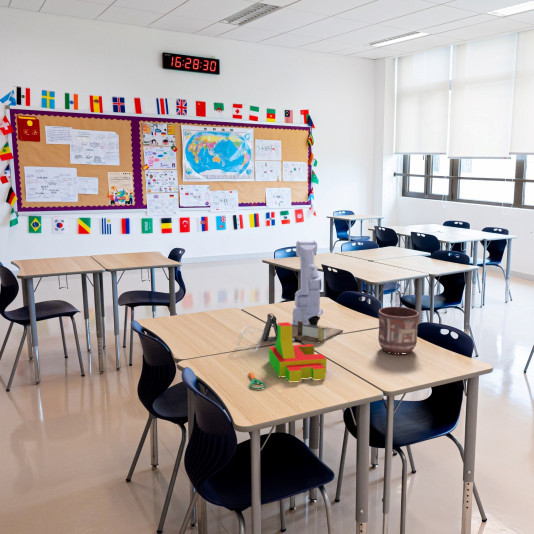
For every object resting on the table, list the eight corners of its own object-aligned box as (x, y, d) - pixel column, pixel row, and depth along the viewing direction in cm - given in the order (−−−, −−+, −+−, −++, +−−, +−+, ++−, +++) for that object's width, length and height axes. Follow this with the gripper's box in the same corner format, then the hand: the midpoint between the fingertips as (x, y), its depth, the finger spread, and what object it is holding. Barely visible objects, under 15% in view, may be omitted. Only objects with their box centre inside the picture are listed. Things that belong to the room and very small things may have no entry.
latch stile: (318, 340, 264) (318, 326, 263) (319, 339, 265) (319, 326, 264) (321, 340, 263) (321, 327, 262) (322, 340, 264) (322, 326, 263)
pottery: (368, 350, 253) (370, 311, 249) (390, 341, 265) (392, 304, 261) (403, 360, 240) (405, 319, 237) (424, 350, 253) (427, 311, 249)
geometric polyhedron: (266, 352, 251) (266, 332, 249) (242, 354, 247) (242, 334, 246) (257, 343, 262) (257, 324, 261) (234, 346, 259) (234, 326, 258)
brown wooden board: (293, 337, 271) (293, 322, 270) (316, 327, 289) (316, 312, 288) (320, 343, 263) (321, 327, 261) (342, 331, 281) (343, 317, 279)
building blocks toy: (283, 384, 215) (283, 337, 211) (269, 362, 239) (269, 319, 236) (330, 380, 219) (331, 334, 215) (312, 358, 243) (312, 317, 239)
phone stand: (279, 336, 273) (279, 312, 270) (282, 340, 267) (282, 315, 265) (261, 338, 271) (261, 313, 269) (263, 341, 265) (263, 316, 263)
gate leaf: (302, 335, 271) (302, 324, 270) (304, 334, 272) (304, 323, 271) (323, 339, 264) (324, 328, 263) (325, 338, 265) (326, 327, 264)
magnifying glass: (267, 390, 209) (267, 386, 209) (251, 391, 207) (251, 387, 207) (258, 375, 223) (258, 371, 223) (243, 377, 222) (243, 373, 222)
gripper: (313, 307, 259) (312, 336, 262) (328, 301, 271) (328, 328, 273) (300, 305, 263) (299, 333, 266) (315, 299, 275) (315, 326, 277)
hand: (313, 331), depth 270 cm, fingers closed
